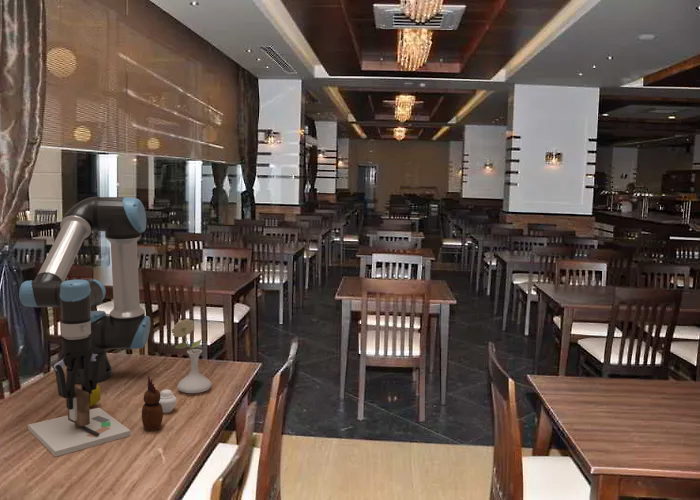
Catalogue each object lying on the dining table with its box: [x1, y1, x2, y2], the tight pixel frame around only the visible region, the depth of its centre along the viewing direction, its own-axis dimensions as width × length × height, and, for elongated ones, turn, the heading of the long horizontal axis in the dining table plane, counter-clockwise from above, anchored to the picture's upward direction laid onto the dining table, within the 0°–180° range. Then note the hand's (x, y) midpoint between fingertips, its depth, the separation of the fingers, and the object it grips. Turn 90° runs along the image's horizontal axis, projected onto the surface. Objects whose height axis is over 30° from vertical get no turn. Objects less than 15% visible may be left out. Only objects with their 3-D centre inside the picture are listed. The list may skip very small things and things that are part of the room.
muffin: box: [159, 388, 178, 414], centre depth 189 cm, size 6×6×7 cm
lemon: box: [89, 384, 102, 408], centre depth 191 cm, size 6×6×8 cm
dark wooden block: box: [67, 386, 99, 436], centre depth 170 cm, size 2×13×10 cm, turn 54°
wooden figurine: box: [141, 375, 164, 431], centre depth 176 cm, size 7×6×15 cm
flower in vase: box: [171, 318, 212, 394], centre depth 206 cm, size 13×11×25 cm
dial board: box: [27, 407, 132, 458], centre depth 173 cm, size 20×22×2 cm
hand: (78, 417), depth 172 cm, fingers closed on dark wooden block, 2 cm apart
